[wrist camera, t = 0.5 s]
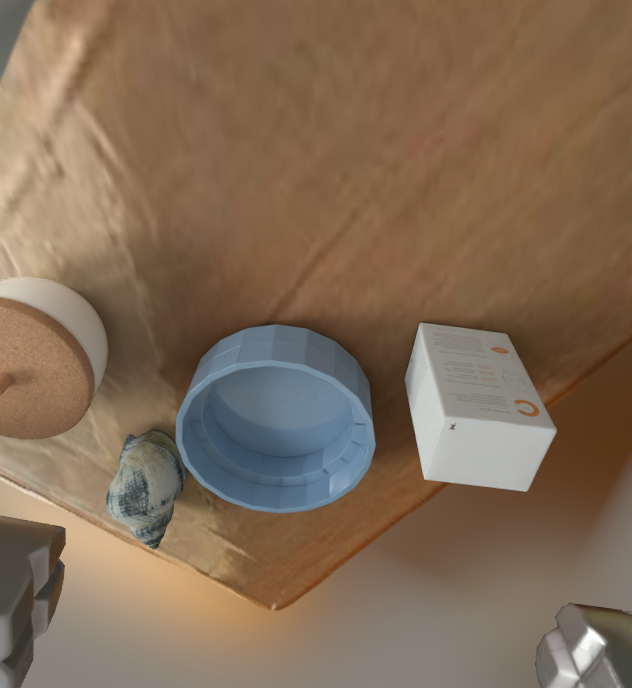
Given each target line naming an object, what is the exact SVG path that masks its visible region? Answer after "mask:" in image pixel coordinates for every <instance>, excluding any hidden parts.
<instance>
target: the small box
mask: <svg viewBox="0 0 632 688" xmlns="http://www.w3.org/2000/svg"><path fill="white" fill-rule="evenodd" d="M405 384H406V389H407V394H408V400H409V405H410V410H411V415H412V420H413V425H414V430H415V436H416V441H417V446H418V450H419V455H420V461H421V466H422V471H423V475H424V479H425V480H432V481H441V482H450V483H458V484H466V485H475V486H483V487H492V488H500V489H508V490H517V491H525V492H527V491H528V488H529V486H530V485H531V483H532V480H533V478H534V476H535V474H536V472H537V470H538V468H539V466H540V464H541V462H542V459H543V458H544V456H545V454H546V452H547V450H548V448H549V446H550V444H551V442H552V440H553V438H554V436H555V434H556V432H557V429H556V427H555V426H554V424H553V422H552V420H551V418H550V416H549V414H548V412H547V410H546V408H545V407H544V405H543V403H542V401H541V399H540V397H539V395H538V393H537V391H536V389H535V387H534V385H533V383H532V381H531V379H530V378H529V376H528V373H527V371H526V369H525V367H524V366H523V364H522V362H521V360H520V358H519V356H518V354H517V352H516V350H515V348H514V346H513V344H512V343H511V341H510V339H509V337H508V335H507V334H505V333H497V332H490V331H482V330H475V329H467V328H460V327H452V326H444V325H436V324H428V323H420V324H419V328H418V331H417V335H416V339H415V343H414V347H413V350H412V354H411V358H410V362H409V365H408V369H407V372H406V376H405Z"/></svg>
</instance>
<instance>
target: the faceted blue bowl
mask: <svg viewBox="0 0 632 688" xmlns="http://www.w3.org/2000/svg"><path fill="white" fill-rule="evenodd" d="M175 441H176V444H177V447H178V450H179V452H180V455H181V457H182V460H183V463H184V465H185V466H186V467H187V469H188V470H189V471H190V472H191V473H192V474H193V476H194V477H195V478H196V479H197V480H198V482H199V483H200V484H201V485H202V486H204V487H205V488H207V489H208V490H210V491H211V492H213V493H214V494H216V495H217V496H219V497H220V498H222V499H224V500H226V501H228V502H231V503H234V504H237V505H239V506H242V507H245V508H248V509H251V510H257V511H265V512H272V513H289V512H301V511H309V510H312V509H315V508H318V507H321V506H324V505H327V504H330V503H333V502H334V501H336V500H337V499H339V498H340V497H342V496H343V495H345V494H346V493H348V492H349V491H351V490H352V489H354V488H355V487H356V485H357V484H358V483H359V481H360V480H361V479H362V478H363V476H364V475H365V474H366V472H367V471H368V470H369V468H370V465H371V461H372V458H373V454H374V451H375V447H376V440H375V429H374V417H373V406H372V398H371V391H370V384H369V381H368V379H367V378H366V376H365V374H364V372H363V370H362V369H361V367H360V365H359V363H358V362H357V360H356V359H355V358H354V357H353V356H352V355H350V354H349V353H348V352H347V351H346V350H345V349H344V348H343V347H341V346H340V345H339V344H338V343H337V342H335V341H334V340H331V339H329V338H327V337H325V336H323V335H320V334H318V333H316V332H314V331H311V330H309V329H306V328H299V327H292V326H285V325H279V324H276V325H268V326H260V327H252V328H247V329H244V330H242V331H239V332H237V333H235V334H233V335H230V336H228V337H226V338H224V339H222V340H220V341H219V342H218V343H217V344H215V345H214V346H213V347H212V348H211V349H210V350H209V351H208V352H207V353H206V354H205V355H204V356H203V357H202V358H201V359H200V361H199V363H198V366H197V368H196V370H195V372H194V374H193V376H192V378H191V381H190V383H189V386H188V388H187V391H186V394H185V396H184V399H183V401H182V404H181V406H180V409H179V411H178V414H177V417H176V440H175Z"/></svg>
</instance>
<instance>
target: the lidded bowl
mask: <svg viewBox="0 0 632 688" xmlns="http://www.w3.org/2000/svg"><path fill="white" fill-rule="evenodd" d="M107 359H108V340H107V335H106V331H105V328H104V326H103V323H102V321H101V319H100V317H99V316H98V314H97V312H96V311H95V309H94V308H93V307H92V306H91V304H90V303H89V302H88V301H87V300H86V299H85V298H84V297H82V296H81V295H80V294H78V293H77V292H76V291H74V290H72V289H71V288H69V287H67V286H65V285H63V284H61V283H59V282H56V281H52V280H49V279H45V278H39V277H30V276H21V277H12V278H5V279H2V280H0V435H2V436H6V437H11V438H17V439H44V438H48V437H52V436H56V435H59V434H61V433H64V432H66V431H68V430H69V429H71V428H72V427H74V426H75V425H76V424H77V423H78V422H79V421H80V420H81V419H82V417H83V416H84V414H85V413H86V411H87V410H88V408H89V406H90V404H91V402H92V399H93V397H94V395H95V393H96V391H97V390H98V388H99V385H100V383H101V380H102V378H103V375H104V372H105V369H106V364H107Z"/></svg>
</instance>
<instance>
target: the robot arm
mask: <svg viewBox="0 0 632 688" xmlns="http://www.w3.org/2000/svg"><path fill="white" fill-rule="evenodd" d="M65 544H66V543H65V528H63V527H60V526H55V525H50V524H44V523H39V522H33V521H28V520H22V519H17V518H11V517H5V516H0V688H20V687H21V685H22V683H23V681H24V679H25V676H26V674H27V672H28V670H29V668H30V666H31V663H32V661H33V643H34V639H36V638H37V637H38V636H40V635H41V634H42V633H44V632H45V631H47V629H48V626H49V624H50V622H51V619H52V617H53V615H54V613H55V609H56V606H57V603H58V600H59V597H60V594H61V590H62V584H63V579H64V567H65V565H64V564H63V563H62V562H61V561H60V559H59V557H60V555H61V553H62V550H63V548H64V546H65ZM555 618H556V621H557V625H558V627H557V628H555V629H553V630H551V631H550V632H548V633H546V634H545V635H544V636H543V638H542V639H541V641H540V643H539V645H538V647H537V651H536V662H535V666H536V673H537V679H538V682H539V684H540V687H541V688H632V612H629V611H622V610H618V609H611V608H603V607H596V606H588V605H581V604H574V603H569V604H567V605H565V606H563V607H561V609H560V610H559V612H558V613H557V615H556V617H555Z"/></svg>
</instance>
